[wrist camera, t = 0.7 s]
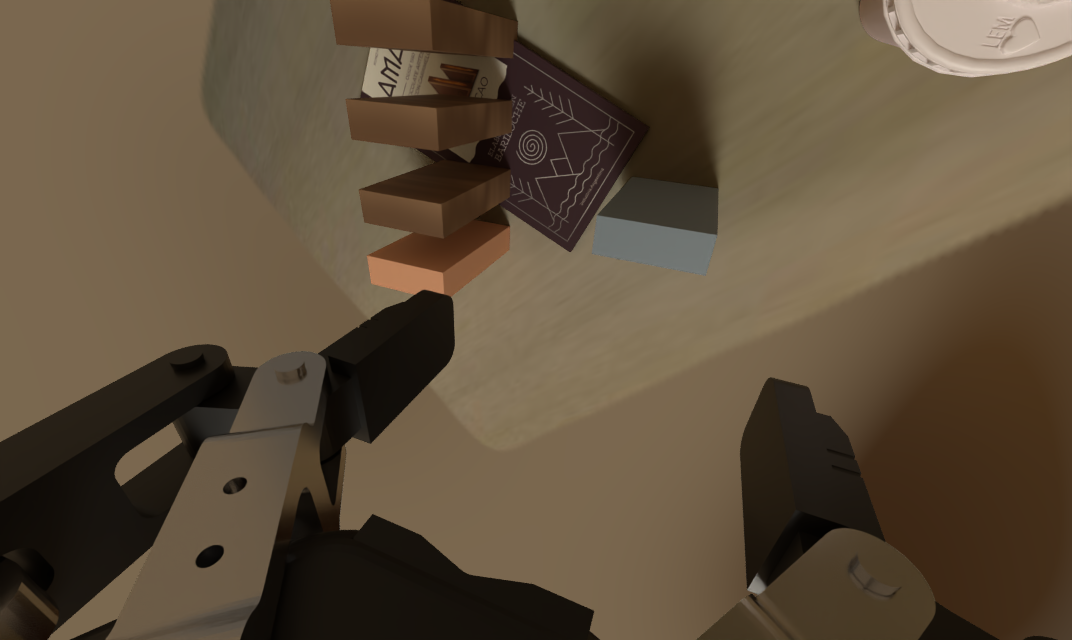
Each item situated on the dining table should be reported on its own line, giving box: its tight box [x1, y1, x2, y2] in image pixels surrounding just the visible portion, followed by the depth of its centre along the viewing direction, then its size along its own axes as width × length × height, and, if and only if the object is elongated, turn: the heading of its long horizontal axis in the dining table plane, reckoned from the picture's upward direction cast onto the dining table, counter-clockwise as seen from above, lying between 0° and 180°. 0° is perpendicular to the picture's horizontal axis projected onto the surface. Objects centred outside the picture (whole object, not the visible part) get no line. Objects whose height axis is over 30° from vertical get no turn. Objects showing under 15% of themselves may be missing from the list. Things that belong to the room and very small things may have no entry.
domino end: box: [367, 220, 510, 297], centre depth 28 cm, size 2×5×9 cm, turn 86°
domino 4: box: [592, 177, 718, 276], centre depth 22 cm, size 2×5×9 cm, turn 86°
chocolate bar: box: [360, 0, 649, 252], centre depth 27 cm, size 9×1×18 cm
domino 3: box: [359, 160, 511, 239], centre depth 26 cm, size 2×5×9 cm, turn 86°
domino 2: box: [346, 94, 512, 151], centre depth 24 cm, size 2×5×9 cm, turn 86°
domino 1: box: [330, 0, 518, 58], centre depth 22 cm, size 2×5×9 cm, turn 86°
